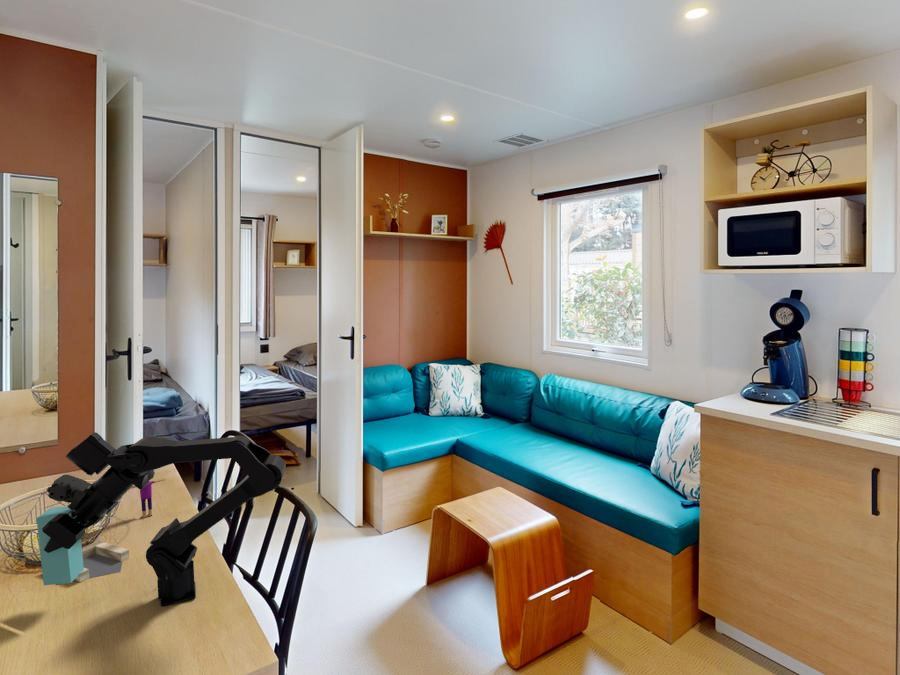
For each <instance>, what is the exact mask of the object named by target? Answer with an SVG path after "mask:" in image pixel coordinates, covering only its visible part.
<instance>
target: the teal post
mask: <svg viewBox="0 0 900 675" xmlns="http://www.w3.org/2000/svg"><path fill="white" fill-rule="evenodd" d="M67 506H68V505H67ZM67 506H65V505H64V506H56V507H55V506H54V507H50V508H47V510H45V511H44V512H43V513H42V514H40V515H39V516H37V517H36V524H37V536H38V544H39V545H38V547H39V554H40V562H41V572H42V581H43V582H42V583H43V586H49V585H50V586H52V585H56V584H59V585H62V584H71V583H73V582H74V581H73V580H74V579H75V578H76V577H77V576H78V575H79V574H80V573H81V572H82V571H83V570H84V565H83V555H82V548H83V547H82V538H81V539H80V540H79V541H78V542H77V543H76V544H74V545H73V546H72V547H71V548H70V549H65V548H64V547H62V548H59V549H57V550H55V551H52V552H50V553H47V552H46V551H44V548H45V547H46V545H47V543H48V541H49V540H50V537H49V536H48V535H46V534H45V533H44V532H43V531H42V528H43V527H44V526H45V525H46V524H47V523H48V522H49V521H50V520H52V519H53V518H54V517H56V516H57V515H58V514H65V513H66V514H68V515H69V516H70V514H71V513H72V512H73V511H75V510H71V509H70V508H68V507H67ZM70 517H71V516H70ZM76 517H77V516H76ZM76 517H74V518H76ZM72 518H73V517H72ZM74 518H73V519H74ZM78 523H79V522H78ZM72 581H73V582H72Z"/></svg>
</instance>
